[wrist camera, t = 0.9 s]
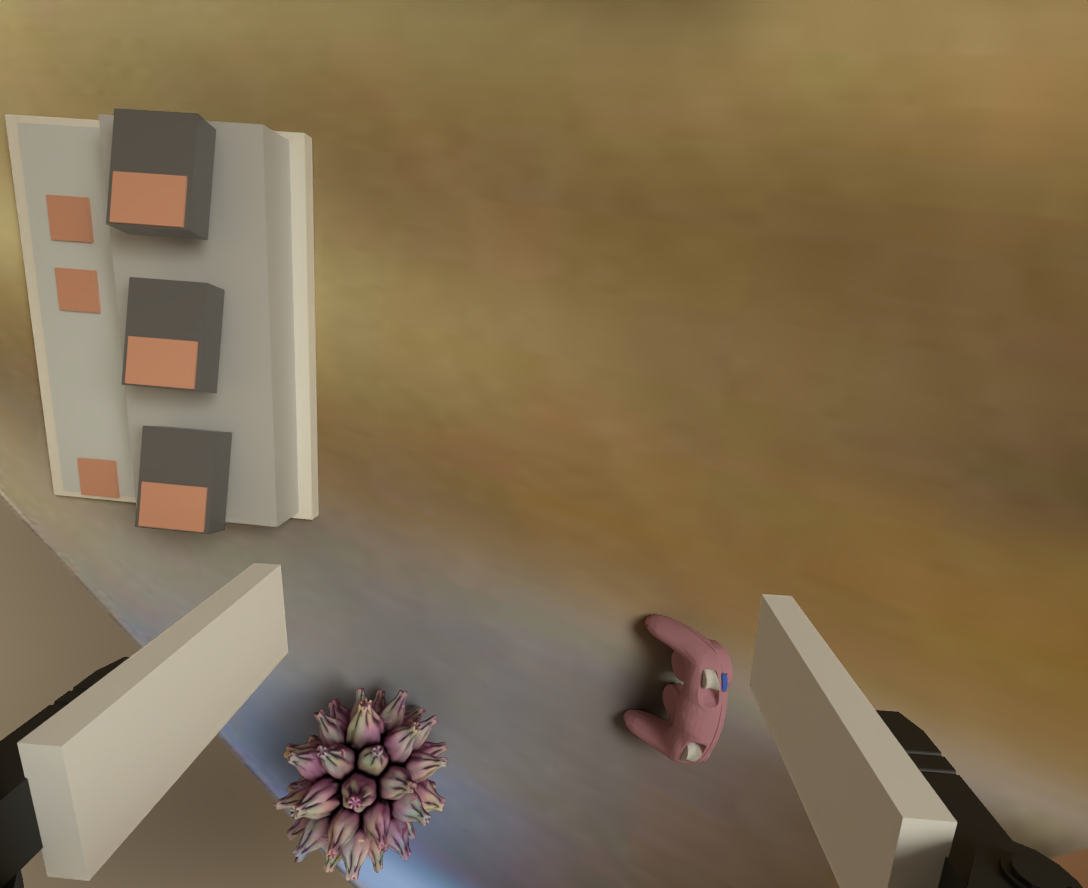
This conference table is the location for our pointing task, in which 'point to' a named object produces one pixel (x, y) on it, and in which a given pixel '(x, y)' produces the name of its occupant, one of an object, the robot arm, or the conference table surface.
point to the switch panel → (223, 260)
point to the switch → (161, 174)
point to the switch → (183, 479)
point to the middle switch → (173, 335)
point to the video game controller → (687, 695)
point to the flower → (363, 782)
